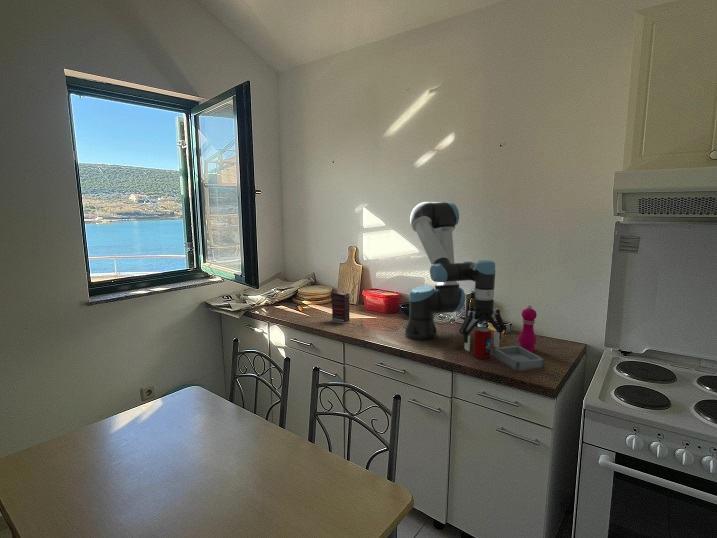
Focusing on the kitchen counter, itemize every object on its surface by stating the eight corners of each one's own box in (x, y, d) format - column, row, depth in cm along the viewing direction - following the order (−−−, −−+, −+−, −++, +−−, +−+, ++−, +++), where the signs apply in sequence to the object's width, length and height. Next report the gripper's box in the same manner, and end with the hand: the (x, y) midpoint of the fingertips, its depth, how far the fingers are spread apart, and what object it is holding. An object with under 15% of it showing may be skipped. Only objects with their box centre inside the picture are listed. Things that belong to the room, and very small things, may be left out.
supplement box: (350, 321, 219) (349, 293, 216) (344, 324, 215) (344, 294, 212) (337, 319, 223) (336, 291, 221) (331, 321, 219) (331, 292, 217)
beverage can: (491, 360, 166) (492, 332, 164) (473, 359, 167) (475, 330, 165) (489, 354, 172) (490, 327, 170) (472, 353, 174) (474, 326, 172)
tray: (493, 356, 170) (493, 348, 169) (517, 353, 173) (518, 345, 173) (517, 371, 155) (517, 362, 154) (543, 368, 158) (544, 359, 157)
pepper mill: (520, 345, 183) (523, 302, 179) (537, 349, 178) (541, 304, 175) (515, 350, 177) (518, 305, 174) (532, 353, 173) (536, 308, 169)
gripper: (461, 302, 159) (459, 354, 162) (516, 298, 165) (513, 348, 169) (451, 298, 166) (450, 348, 169) (505, 294, 172) (502, 342, 176)
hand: (481, 348), depth 169 cm, fingers open, 13 cm apart
